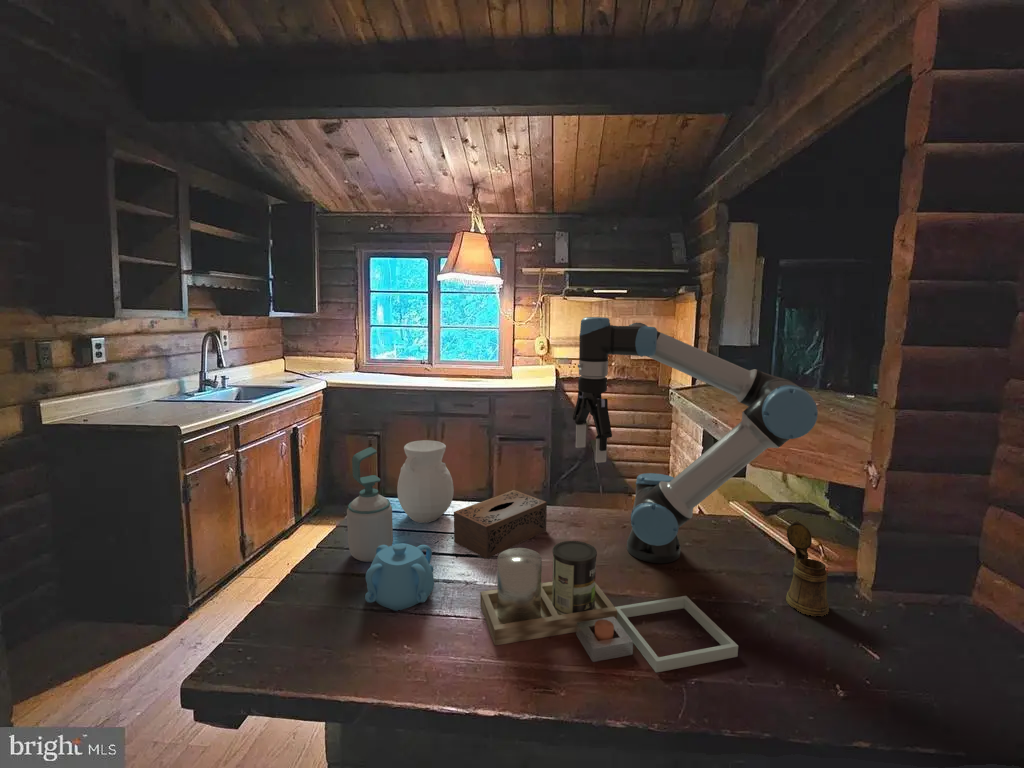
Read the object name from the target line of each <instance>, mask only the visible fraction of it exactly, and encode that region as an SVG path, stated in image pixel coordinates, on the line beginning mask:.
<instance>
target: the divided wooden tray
mask: <svg viewBox="0 0 1024 768" xmlns="http://www.w3.org/2000/svg"><path fill="white" fill-rule="evenodd" d="M552 591H553V581H547V582H541V617H540V618H538V619H532V620H525V621H519V622H513V623H506V624H503V623H501V622H500V621H499V619H498V617H497V588H496V589H490V590H484V591H480V594H479V595H480V599H479V600H480V605H479V606H480V608H481V610H482V614H483V617H484V620H485V622H486V625H487V628H488V631H489V633H490V636H491V639H492V641H493V644H494V646H500V645H506V644H511V643H518V642H523V641H529V640H534V639H536V640H537V639H542V638H547V637H548V638H549V637H553V636H561V635H566V634H571V633H576V624H577V622H583V621H589V620H595V619H601V618H608V617H615V618H616V620H617V609H616V608H615V607H616V606H614V604H613V603H612V601H611V600H610V599H609V598H608V597H607V595H606V594H605V593H604V591H603V590H602V589H601V588H600V586H599V585H598V584H597V582H595V610H589V611H582V612H576V613H570V614H563V615H560V614H558V613H557V611H556V610H555V608H554V606H553V605H552Z"/></svg>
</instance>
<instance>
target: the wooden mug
mask: <svg viewBox="0 0 1024 768" xmlns="http://www.w3.org/2000/svg"><path fill="white" fill-rule="evenodd" d="M786 537H787V541H788V543H789V546H791V547H792V548H794V550H795V553H794V559H793V561H794V565H793V568H792V572H793V575H792V580H791V582H790V586H789V589H788V591H787V593H786V596H785V599H786V603H787V604H789V605H790V606H791V607H793V608H795V609H796V610H797V611H796V610H795V611H796V612H798V611H799V612H798V613H800V612H801V613H800V614H803V615H805V614H806V616H809V615H811V616H810V617H816V616H821V617H825V616H827V615H828V614H829V613H828V612H830V609H829V603H828V590H827V580H828V571H827V570H826V569H827V568H826V567H827V566H826V565H825V564H824V562H822V561H820V560H816V559H814V558H809V553H808V552H809V551H808V549H809V548H810V547H811V545H812V543H813V541H812V540H813V539H812V534H811V532H810V530H809V529H808V528H807V527H806V526H805V525H804V524H803V523H801V522H799V521H797V520H796V521H794V522H793V523H791V524H790V525H789V526H788V527H787V529H786ZM789 605H788V606H789ZM790 606H789V607H790ZM791 607H790V608H791ZM793 608H792V609H793ZM826 614H827V615H826ZM824 615H825V616H824Z"/></svg>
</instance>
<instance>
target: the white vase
mask: <svg viewBox="0 0 1024 768" xmlns="http://www.w3.org/2000/svg"><path fill="white" fill-rule="evenodd" d="M446 448H447V445H446V444H445V443H444V442H441V441H438V440H431V439H427V440H426V439H425V440H422V439H421V440H415V441H414V440H413V441H410V442H408V443H407V442H406V444H404V446H403V450H404V454H405V456H406V459H405V461H404V463H403V464H402V466H401V467H400V473H399V476H398V480H397V488H396V491H397V492H396V493H397V499H398V502H399V504H400V507H401V509H402V510H403V511H404V513H405V514H406V515H407V516H408V517H409V519H411V520H412V521H413V522H415V523H420V524H421V523H432V522H434V521H437V520H438V519H439V518H440V517H441V516H442V515H444V514H445V513H446V512H447V510H448V509H449V508H450V507H451V505H452V502H453V501H452V500H453V499H454V492H455V491H454V488H455V487H454V481H453V478H452V475H451V473H450V470H449V469H448V467H447V466H446V465H447V464H446V462H442V461H443V457H444V454H445V453H446Z"/></svg>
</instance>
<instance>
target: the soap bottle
mask: <svg viewBox="0 0 1024 768" xmlns="http://www.w3.org/2000/svg"><path fill="white" fill-rule="evenodd" d="M377 453H378V451H377V449H375V448H374V447H371V446H370V447H367V448H365V449H362V450H361V451H358V452H357V453H355V454H353V456H352V459H351V464H352V465H351V466H352V467H351V468H352V469H351V470H352V478H353V479H354V480H355V481H356V482H357V483H359V484H360V485H361V486H362V487H364V488H363V489H361V490H360V491H359V496H357V497H356V498H354V499H353V500H352V501H351V502H349V504H348V505H347V508H346V523H347V544H348V549H349V552H350V554H351V556H352V558H354V559H356V560H358V561H360V562H364V563H365V562H366V563H367V562H368V563H369V562H370V563H372V562H373V560H374V558H375V556H376V549H377V547H379V546H380V545H387V546H388V547H389V546H392V545H394V536H393V535H394V534H393V533H394V530H393V528H394V526H393V524H394V523H393V507H392V505H391V501H390V499H388V498H387V497H385V496H383V495H381V494H379V489H377V488H374V486H375V485H376V484H377V483H380V482H381V478H380V477H378V476H377V475H376V474H374V475H373V474H372V475H367V476H362V477H361V468H360V467H361V463H362V461H364V460H365V459H367V458H369V457H371V456H373V455H375V454H377Z"/></svg>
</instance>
